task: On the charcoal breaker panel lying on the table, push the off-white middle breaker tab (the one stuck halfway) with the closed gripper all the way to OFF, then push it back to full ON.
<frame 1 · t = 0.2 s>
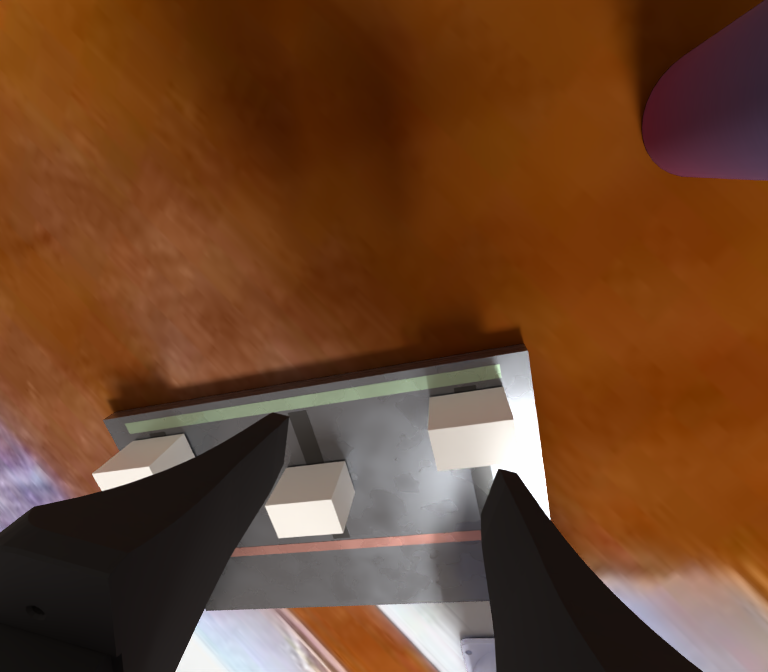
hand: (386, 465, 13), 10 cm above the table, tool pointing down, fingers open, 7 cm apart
breaker 1: (471, 427, 20), point 3 cm above the table, slide at 7.0 cm
breaker 2: (148, 468, 24), point 3 cm above the table, slide at 7.0 cm
breaker mid: (312, 498, 23), point 3 cm above the table, slide at 3.5 cm
panel: (335, 498, 26), on the table
cup: (703, 113, 16), on the table
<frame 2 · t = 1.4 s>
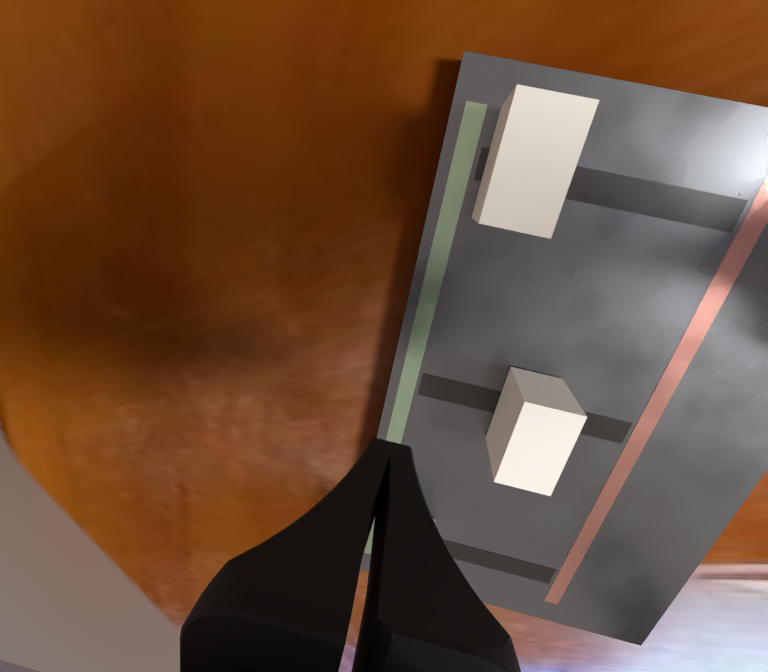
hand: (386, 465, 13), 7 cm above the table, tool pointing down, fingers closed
breaker 1: (524, 168, 13), point 3 cm above the table, slide at 7.0 cm
breaker mid: (529, 428, 17), point 3 cm above the table, slide at 3.5 cm
panel: (567, 409, 19), on the table
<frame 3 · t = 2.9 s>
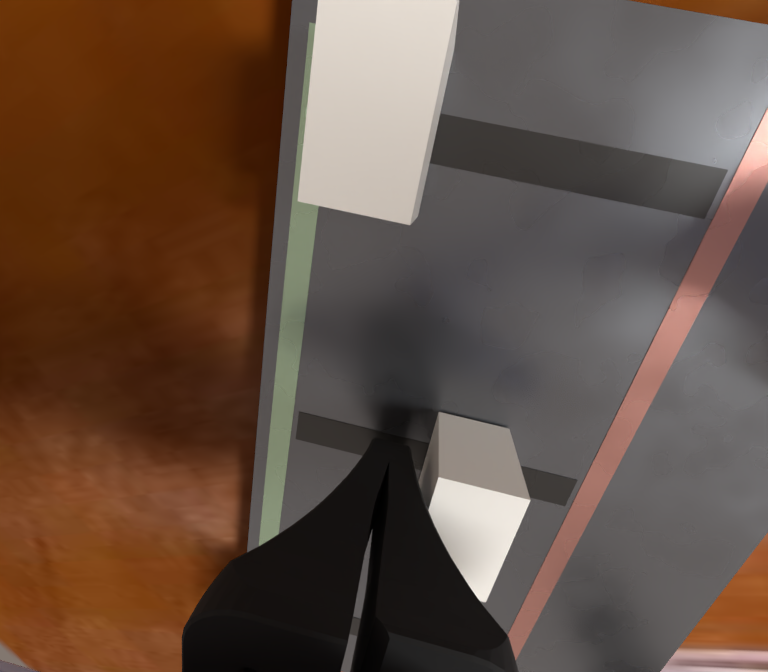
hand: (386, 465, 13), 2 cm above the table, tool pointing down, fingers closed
breaker 1: (382, 118, 9), point 3 cm above the table, slide at 7.0 cm
breaker mid: (460, 500, 12), point 3 cm above the table, slide at 2.5 cm, touching gripper
panel: (496, 457, 15), on the table
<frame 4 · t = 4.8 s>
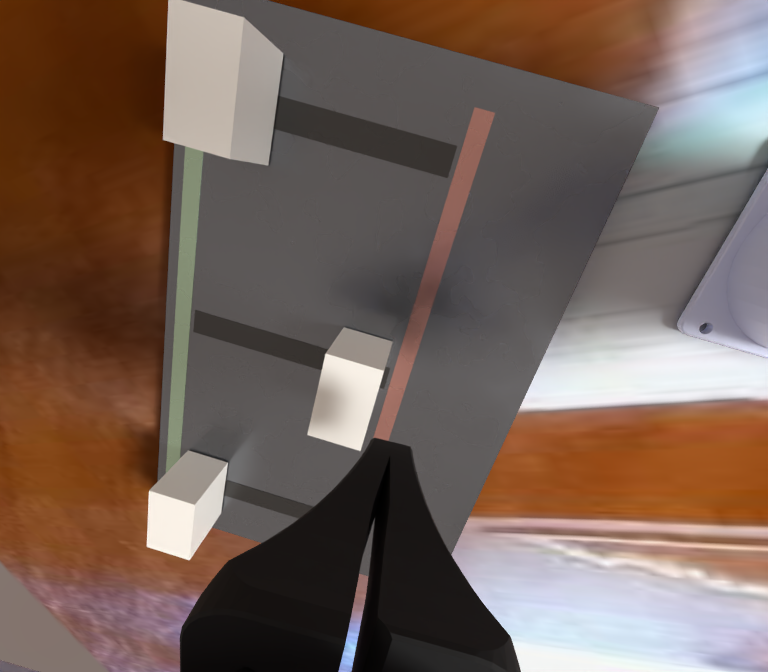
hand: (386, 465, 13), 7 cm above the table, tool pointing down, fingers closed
breaker 1: (226, 94, 14), point 3 cm above the table, slide at 7.0 cm
breaker 2: (188, 503, 21), point 3 cm above the table, slide at 7.0 cm
breaker mid: (351, 386, 17), point 3 cm above the table, slide at -0.1 cm
panel: (343, 356, 20), on the table
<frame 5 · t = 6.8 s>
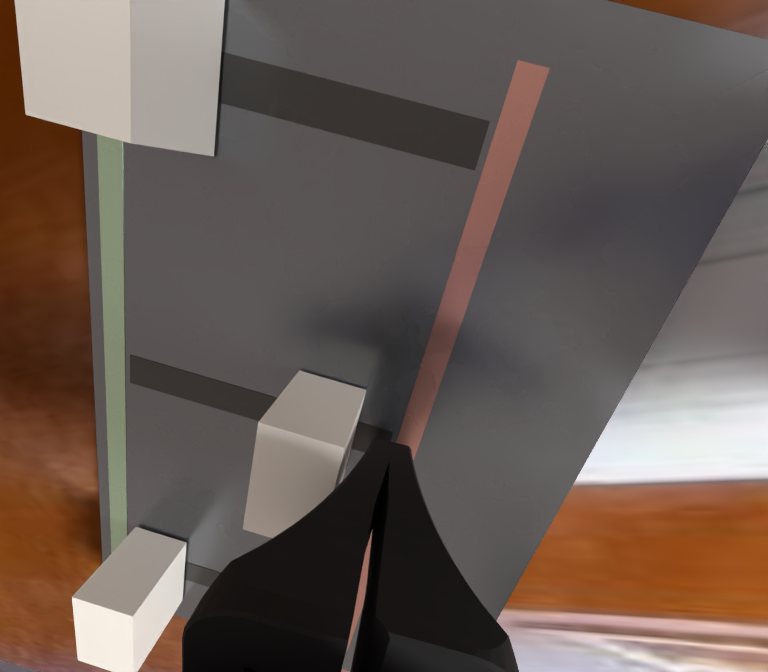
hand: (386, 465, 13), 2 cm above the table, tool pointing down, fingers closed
breaker 1: (133, 44, 9), point 3 cm above the table, slide at 7.0 cm
breaker 2: (134, 598, 16), point 3 cm above the table, slide at 7.0 cm
breaker mid: (308, 455, 12), point 3 cm above the table, slide at 1.0 cm, touching gripper
panel: (330, 411, 15), on the table
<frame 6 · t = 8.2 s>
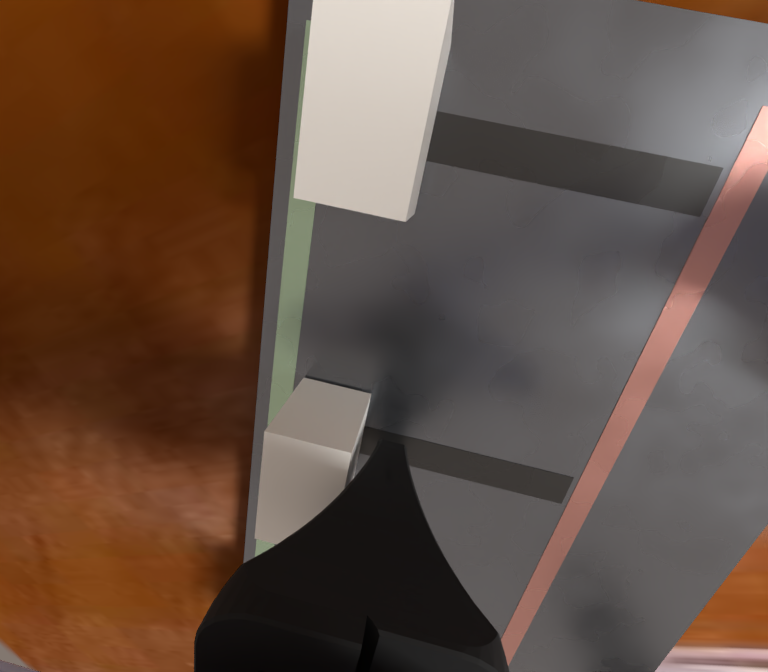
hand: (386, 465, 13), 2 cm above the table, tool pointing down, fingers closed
breaker 1: (378, 115, 9), point 3 cm above the table, slide at 7.0 cm
breaker mid: (316, 462, 12), point 3 cm above the table, slide at 7.2 cm, touching gripper
panel: (493, 455, 15), on the table
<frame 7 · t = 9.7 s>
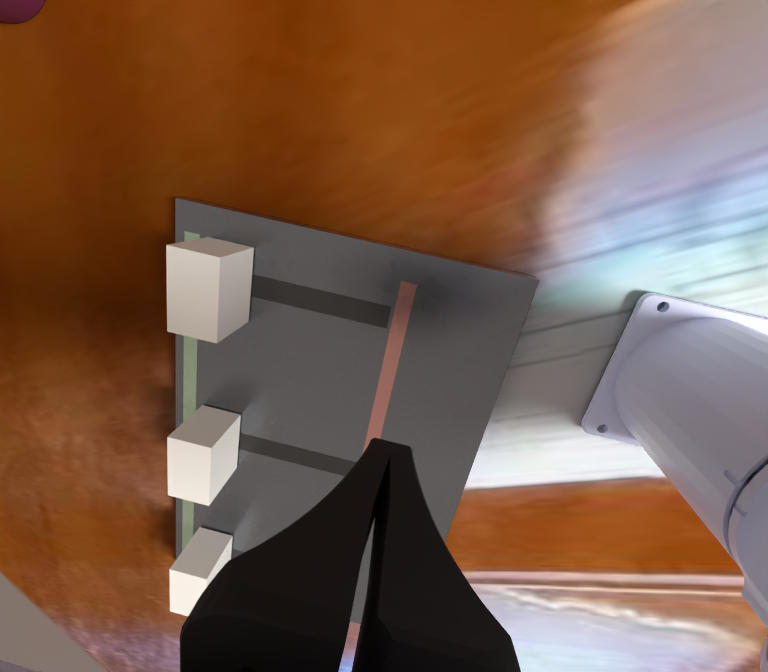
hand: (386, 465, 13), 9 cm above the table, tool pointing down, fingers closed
breaker 1: (212, 287, 18), point 3 cm above the table, slide at 7.0 cm
breaker 2: (202, 572, 26), point 3 cm above the table, slide at 7.0 cm
breaker mid: (205, 453, 22), point 3 cm above the table, slide at 7.1 cm
panel: (320, 450, 24), on the table
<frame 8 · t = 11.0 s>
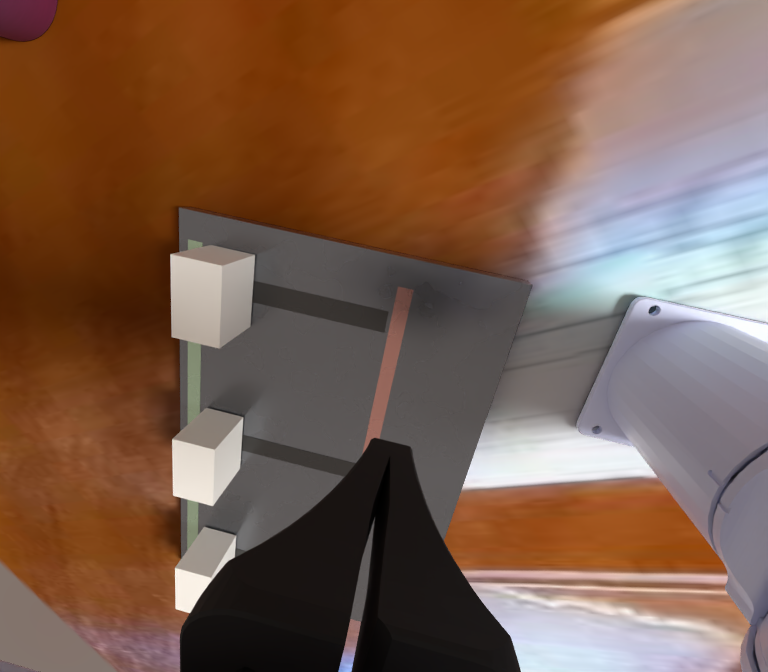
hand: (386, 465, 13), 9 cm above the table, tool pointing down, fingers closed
breaker 1: (214, 294, 19), point 3 cm above the table, slide at 7.0 cm
breaker 2: (206, 571, 26), point 3 cm above the table, slide at 7.0 cm
breaker mid: (209, 455, 23), point 3 cm above the table, slide at 7.1 cm
panel: (321, 451, 25), on the table
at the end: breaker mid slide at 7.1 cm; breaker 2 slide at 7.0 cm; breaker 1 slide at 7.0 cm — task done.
